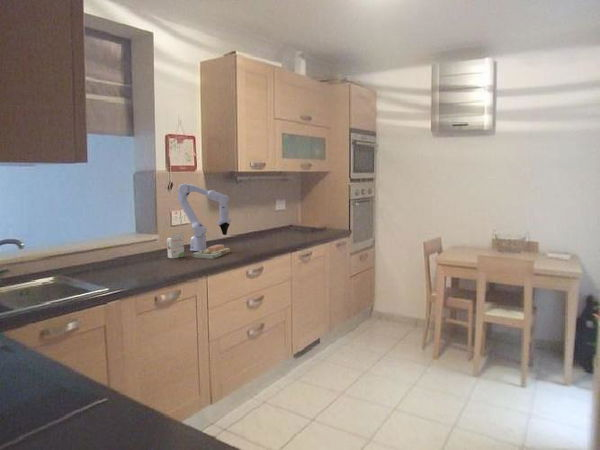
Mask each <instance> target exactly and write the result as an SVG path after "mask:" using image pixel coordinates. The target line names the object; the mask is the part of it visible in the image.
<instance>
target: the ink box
mask: <svg viewBox="0 0 600 450" xmlns="http://www.w3.org/2000/svg"><path fill="white" fill-rule="evenodd" d="M184 239H185V238H184V232H183V231H182V232H175V233H171V234H170V237H167V238H166V245H167V246H166V247H167V258H170V259H178V258H183V257H185V242H184V241H185V240H184Z"/></svg>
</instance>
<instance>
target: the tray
mask: <svg viewBox="0 0 600 450" xmlns="http://www.w3.org/2000/svg"><path fill="white" fill-rule="evenodd" d="M219 257H221V252H219V253H216V254H203V252H202V251H195V252H194V253H192V258H196V259H197V258H198V259H208V260H209V259H210V260H211V259H212V260H214V259H217V258H219Z"/></svg>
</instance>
